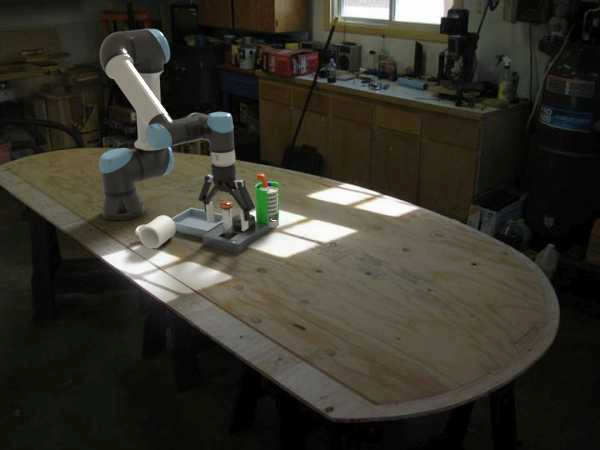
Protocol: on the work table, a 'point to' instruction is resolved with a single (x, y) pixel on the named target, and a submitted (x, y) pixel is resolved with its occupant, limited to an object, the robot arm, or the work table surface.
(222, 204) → the pin
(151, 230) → the mug
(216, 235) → the grey block with dome
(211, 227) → the tray
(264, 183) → the green-shelled ribbed roller
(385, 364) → the work table surface
